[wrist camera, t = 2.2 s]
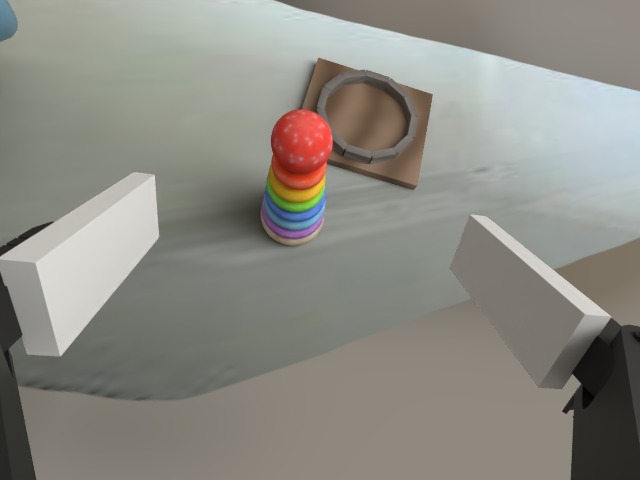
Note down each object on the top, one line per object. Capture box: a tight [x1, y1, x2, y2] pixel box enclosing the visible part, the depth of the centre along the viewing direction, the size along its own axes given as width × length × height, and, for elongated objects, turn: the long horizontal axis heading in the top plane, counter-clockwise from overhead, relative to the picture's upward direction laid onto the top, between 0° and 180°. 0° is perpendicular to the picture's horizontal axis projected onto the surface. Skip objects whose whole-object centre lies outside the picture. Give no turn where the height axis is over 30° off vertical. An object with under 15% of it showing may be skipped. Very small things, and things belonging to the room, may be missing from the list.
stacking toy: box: [260, 109, 333, 246], centre depth 34 cm, size 8×8×19 cm
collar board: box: [302, 58, 433, 190], centre depth 48 cm, size 18×16×3 cm
